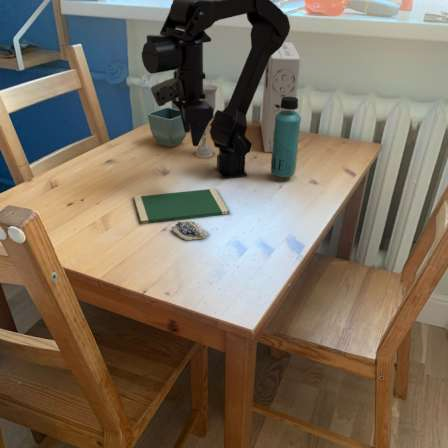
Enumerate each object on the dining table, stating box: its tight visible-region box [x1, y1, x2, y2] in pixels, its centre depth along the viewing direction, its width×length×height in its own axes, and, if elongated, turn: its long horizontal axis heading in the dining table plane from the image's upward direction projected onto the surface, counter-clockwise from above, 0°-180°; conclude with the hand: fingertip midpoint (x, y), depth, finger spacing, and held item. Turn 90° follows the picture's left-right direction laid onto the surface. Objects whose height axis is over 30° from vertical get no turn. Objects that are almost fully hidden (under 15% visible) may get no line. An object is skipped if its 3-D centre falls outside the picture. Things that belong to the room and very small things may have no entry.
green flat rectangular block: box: [133, 188, 230, 225], centre depth 112 cm, size 20×12×1 cm, turn 106°
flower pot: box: [147, 106, 187, 148], centre depth 140 cm, size 9×9×9 cm
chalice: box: [194, 83, 219, 159], centre depth 132 cm, size 7×7×18 cm
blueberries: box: [170, 220, 208, 241], centre depth 102 cm, size 7×8×2 cm
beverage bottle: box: [270, 97, 302, 178], centre depth 120 cm, size 6×7×20 cm
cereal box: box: [260, 41, 301, 153], centre depth 140 cm, size 22×8×25 cm, turn 179°
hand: (191, 138), depth 113 cm, fingers open, 9 cm apart
